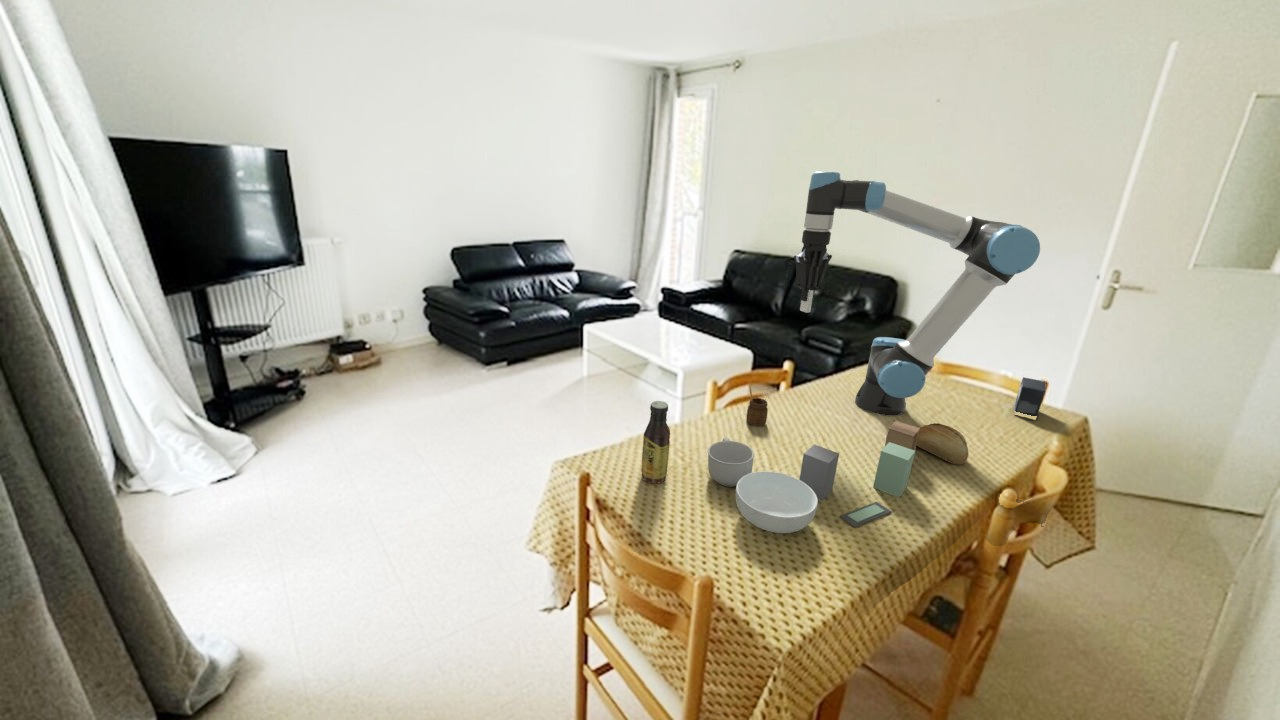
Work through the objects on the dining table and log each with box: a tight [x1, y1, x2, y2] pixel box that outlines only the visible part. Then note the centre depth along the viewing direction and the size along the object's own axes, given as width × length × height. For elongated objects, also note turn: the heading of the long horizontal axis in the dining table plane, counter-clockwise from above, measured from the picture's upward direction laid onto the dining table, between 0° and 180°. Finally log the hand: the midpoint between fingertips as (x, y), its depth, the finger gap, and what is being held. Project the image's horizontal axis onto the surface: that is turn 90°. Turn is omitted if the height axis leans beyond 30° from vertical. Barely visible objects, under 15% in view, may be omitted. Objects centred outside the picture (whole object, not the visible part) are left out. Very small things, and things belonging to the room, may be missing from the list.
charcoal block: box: [799, 444, 840, 502], centre depth 122 cm, size 6×6×10 cm
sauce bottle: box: [640, 400, 671, 484], centre depth 123 cm, size 7×6×20 cm
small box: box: [1013, 377, 1046, 417], centre depth 169 cm, size 11×6×10 cm, turn 144°
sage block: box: [873, 442, 916, 498], centre depth 125 cm, size 6×6×10 cm
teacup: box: [707, 436, 755, 488], centre depth 127 cm, size 14×11×8 cm
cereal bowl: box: [735, 470, 819, 534], centre depth 111 cm, size 17×17×7 cm
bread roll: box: [916, 422, 969, 465], centre depth 142 cm, size 10×15×8 cm, turn 35°
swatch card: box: [839, 501, 892, 529], centre depth 115 cm, size 12×4×1 cm, turn 119°
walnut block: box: [884, 420, 920, 451], centre depth 136 cm, size 6×6×10 cm
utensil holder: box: [745, 384, 771, 427], centre depth 155 cm, size 6×6×12 cm
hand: (805, 311), depth 155 cm, fingers closed
